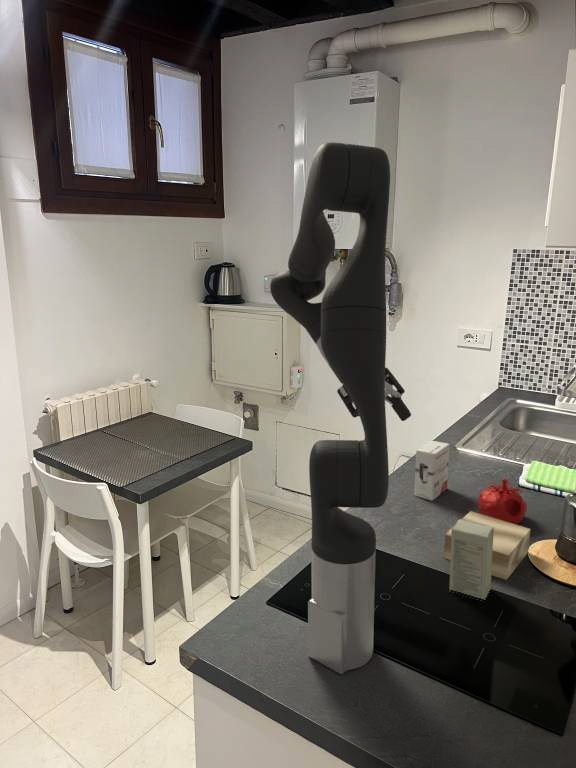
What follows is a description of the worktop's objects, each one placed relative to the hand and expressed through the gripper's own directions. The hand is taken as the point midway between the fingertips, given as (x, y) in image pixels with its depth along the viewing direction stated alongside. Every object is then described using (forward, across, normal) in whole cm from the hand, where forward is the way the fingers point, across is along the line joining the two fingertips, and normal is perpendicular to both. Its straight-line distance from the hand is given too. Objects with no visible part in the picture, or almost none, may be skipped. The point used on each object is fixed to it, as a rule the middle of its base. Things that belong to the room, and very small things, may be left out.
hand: (394, 424), depth 104 cm
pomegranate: (+27, +28, +12) cm, 41 cm away
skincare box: (+31, 0, +7) cm, 32 cm away
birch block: (+29, +13, +9) cm, 33 cm away
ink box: (+15, +31, +26) cm, 43 cm away
